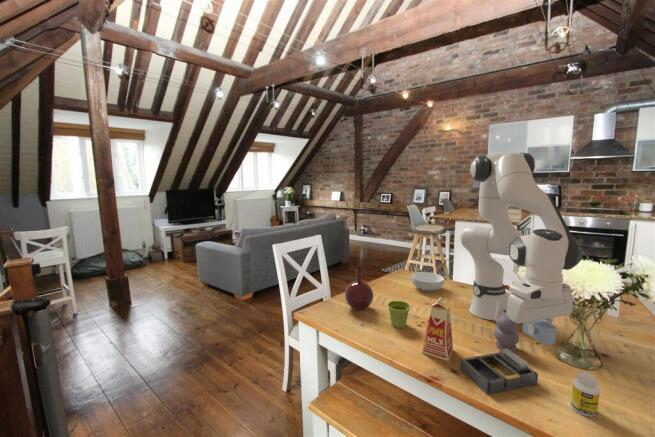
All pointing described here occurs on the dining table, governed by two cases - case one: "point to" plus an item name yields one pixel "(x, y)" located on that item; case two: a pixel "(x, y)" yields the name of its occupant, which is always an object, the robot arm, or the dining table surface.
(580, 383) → the supplement bottle
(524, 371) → the tray
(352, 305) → the round-bottom flask
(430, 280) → the cereal bowl
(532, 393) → the dining table surface
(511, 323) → the purple lumpy figurine
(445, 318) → the milk carton
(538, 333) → the light blue block
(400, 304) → the plant pot
